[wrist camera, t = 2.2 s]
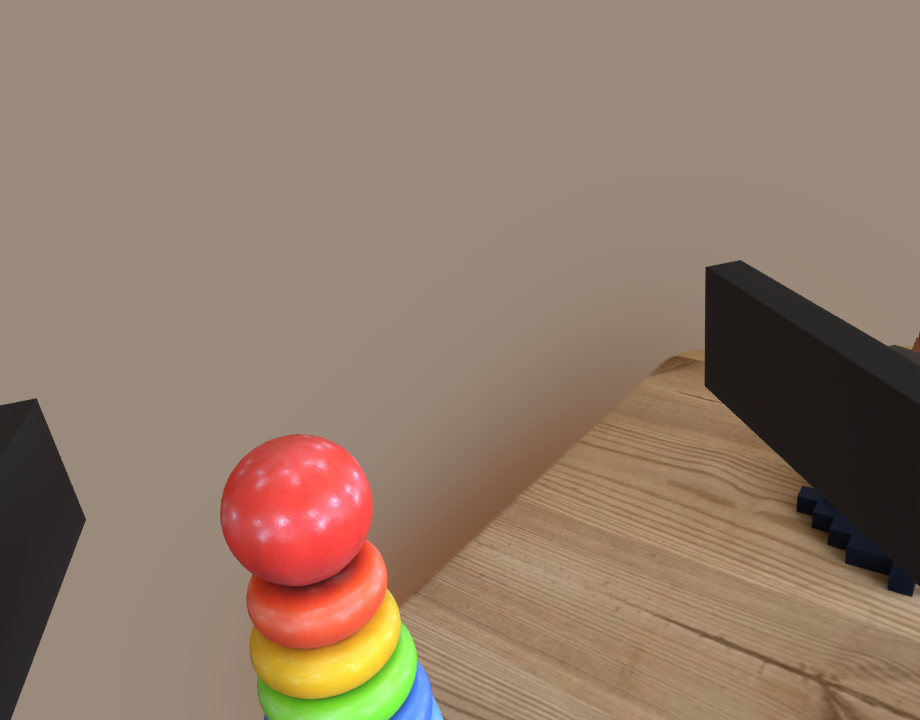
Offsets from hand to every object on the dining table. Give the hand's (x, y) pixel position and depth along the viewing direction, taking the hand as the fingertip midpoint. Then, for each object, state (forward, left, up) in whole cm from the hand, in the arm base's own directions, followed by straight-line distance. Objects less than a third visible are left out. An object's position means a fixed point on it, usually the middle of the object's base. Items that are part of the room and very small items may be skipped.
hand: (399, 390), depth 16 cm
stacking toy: (-4, +9, -25) cm, 27 cm away
